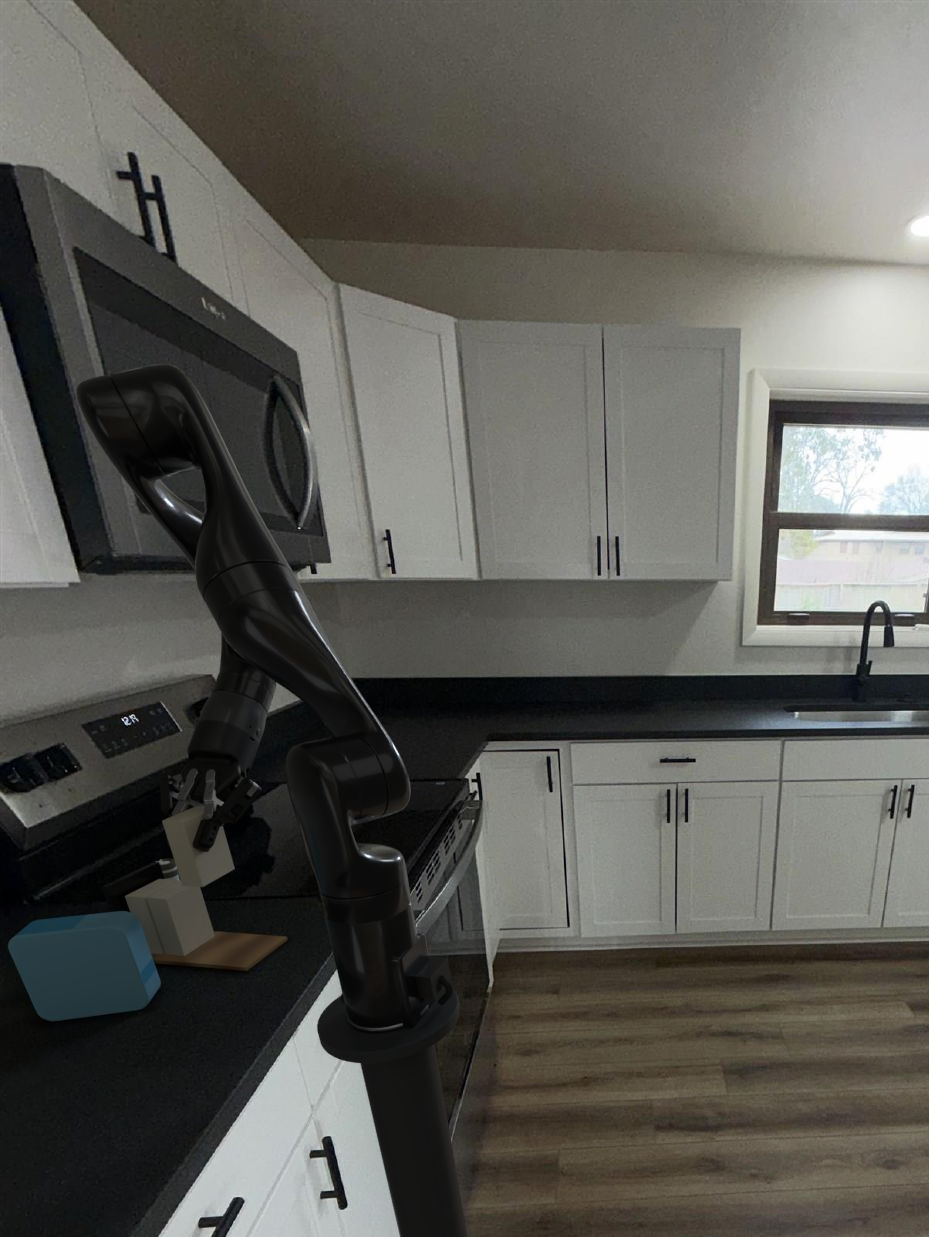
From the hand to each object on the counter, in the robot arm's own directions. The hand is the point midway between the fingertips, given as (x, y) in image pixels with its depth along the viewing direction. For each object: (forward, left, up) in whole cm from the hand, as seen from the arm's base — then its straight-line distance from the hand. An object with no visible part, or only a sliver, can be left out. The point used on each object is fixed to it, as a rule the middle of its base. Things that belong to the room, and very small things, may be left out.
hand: (187, 848), depth 91 cm
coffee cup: (+28, -23, -18) cm, 41 cm away
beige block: (0, -2, -5) cm, 5 cm away
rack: (+6, -4, -18) cm, 19 cm away
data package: (+8, +11, -18) cm, 23 cm away
